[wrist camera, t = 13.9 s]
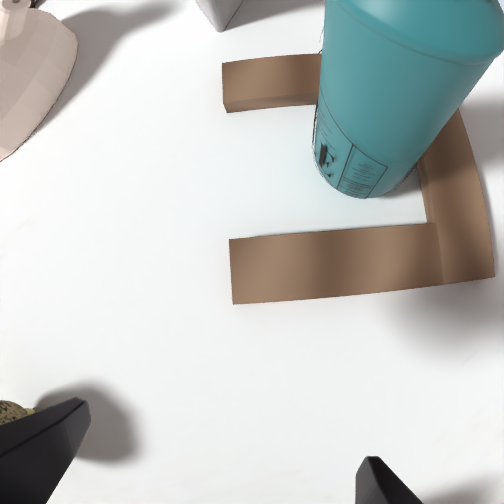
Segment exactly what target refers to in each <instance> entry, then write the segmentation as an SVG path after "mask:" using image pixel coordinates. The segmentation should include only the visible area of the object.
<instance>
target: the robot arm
mask: <svg viewBox="0 0 504 504" xmlns="http://www.w3.org/2000/svg"><path fill="white" fill-rule="evenodd" d="M90 422H91V417H90V411H89V406H88V403H87V401H86V400H83V399H81V398H78V397H75V398H72V399H69V400H67V401H64V402H62V403H59V404H56V405H54V406H51V407H49V408H46V409H43V410H40V411H38V412H35V413H32V414H30V415H27V416H24V417H21V418H18V419H16V420H13V421H10V422H7V423H4V424H1V425H0V504H46V503H47V501H48V500H49V498H50V496H51V495H52V493H53V491H54V490H55V488H56V486H57V485H58V483H59V481H60V480H61V478H62V477H63V475H64V473H65V472H66V470H67V468H68V467H69V465H70V464H71V462H72V460H73V459H74V457H75V455H76V453H77V451H78V449H79V446H80V444H81V442H82V440H83V438H84V436H85V433H86V431H87V429H88V427H89V425H90ZM355 504H423V503H422V502H421V501H420V500H419V499H418V497H417V496H416V495H415V494H414V493H413V492H412V491H411V490H410V489H409V488H408V487H407V486H406V485H405V484H404V483H403V482H402V481H401V480H400V479H399V478H398V477H397V475H396V474H395V473H394V472H393V471H392V470H391V469H390V468H389V467H388V466H387V465H386V464H385V463H384V462H383V460H382V459H381V458H380V457H378V456H367V457H365V459H364V460H363V462H362V464H361V466H360V467H359V469H358V471H357V473H356V496H355Z"/></svg>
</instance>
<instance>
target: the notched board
mask: <svg viewBox="0 0 504 504" xmlns="http://www.w3.org/2000/svg"><path fill="white" fill-rule="evenodd" d="M317 57H318V70H317ZM321 57H322V54H301V55H286V56H275V57H264V58H256V59H247V60H240V61H233V62H226V63H222V84H223V104H224V106H225V109H226V112H227V113H231V112H238V111H246V110H255V109H264V108H273V107H284V106H297V105H312V104H316V103H317V101H318V99H319V86H320V84H319V83H320V71H321ZM318 77H319V79H318ZM316 94H317V95H316ZM316 96H317V97H316ZM444 126H445V127H444ZM444 126H443V128H442V129H441V130H440V132H439V133H438V135H437V136H436V138H435V139H434V141H435V142H434V141H433V142H432V143H431V144H430V146H429V147H428V148H427V149H426V151H425V152H424V153H423V154H422V156H421V157H420V159H418V161H417V162H416V163H419V162H420V163H419V164H417V171H418V175H419V180H420V185H421V190H422V195H423V201H424V206H425V212H426V218H427V224H415V225H401V226H387V227H373V228H360V229H347V230H334V231H321V232H309V233H296V234H284V235H273V236H261V237H249V238H238V239H229V249H230V267H231V283H232V300H233V304H249V303H265V302H279V301H293V300H305V299H317V298H329V297H340V296H350V295H360V294H370V293H379V292H388V291H397V290H405V289H414V288H422V287H430V286H437V285H445V284H452V283H459V282H466V281H473V280H479V279H486V278H492V277H495V271H494V261H493V252H492V245H491V237H490V231H489V225H488V219H487V213H486V208H485V203H484V198H483V193H482V189H481V184H480V180H479V176H478V172H477V168H476V164H475V160H474V156H473V153H472V149H471V146H470V143H469V139H468V136H467V133H466V130H465V127H464V124H463V121H462V118H461V115H460V112H459V109H457V110H456V111H455V112H454V114H453V115H452V116H451V118H450V119H449V120H448V121H447V123H446V124H445V125H444ZM443 129H444V130H443ZM442 131H443V132H442ZM441 133H442V134H441ZM433 144H434V145H433ZM430 147H431V148H430ZM430 149H431V150H430ZM428 150H429V151H428ZM425 153H426V154H427V155H426V154H425ZM424 155H426V156H424ZM423 156H424V158H423V159H422V160H421V158H422V157H423Z"/></svg>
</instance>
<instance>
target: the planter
mask: <svg viewBox="0 0 504 504" xmlns="http://www.w3.org/2000/svg"><path fill="white" fill-rule="evenodd" d="M195 1H196V3H197V4H198V6H199V8H200V9H201V10H202V12H203V13H204V14H205V16H206V17H207V19H208V20H209V21H210V23H211V24H212V25H213V27H214V28H215V29H216V31H217V32H222V31H224V30H225V28H226V26H227V24H228V23H229V21H230V20H231V18H232V17H233V15H234V14H235V12H236V10H237V9H238V7H239V6H240V5H241V3H242V2H243V0H195Z"/></svg>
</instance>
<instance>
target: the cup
mask: <svg viewBox="0 0 504 504" xmlns="http://www.w3.org/2000/svg"><path fill="white" fill-rule="evenodd" d="M35 412H37V411H35V410H33V409H29V408H25V409H24V408H23V407H21V406H20V405H18V404H16V403H13V402H10V401H3V400H0V425H1V424H4V423H7V422H10V421H13V420H16V419H18V418H21V417H24V416H27V415H30V414H32V413H35Z"/></svg>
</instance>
